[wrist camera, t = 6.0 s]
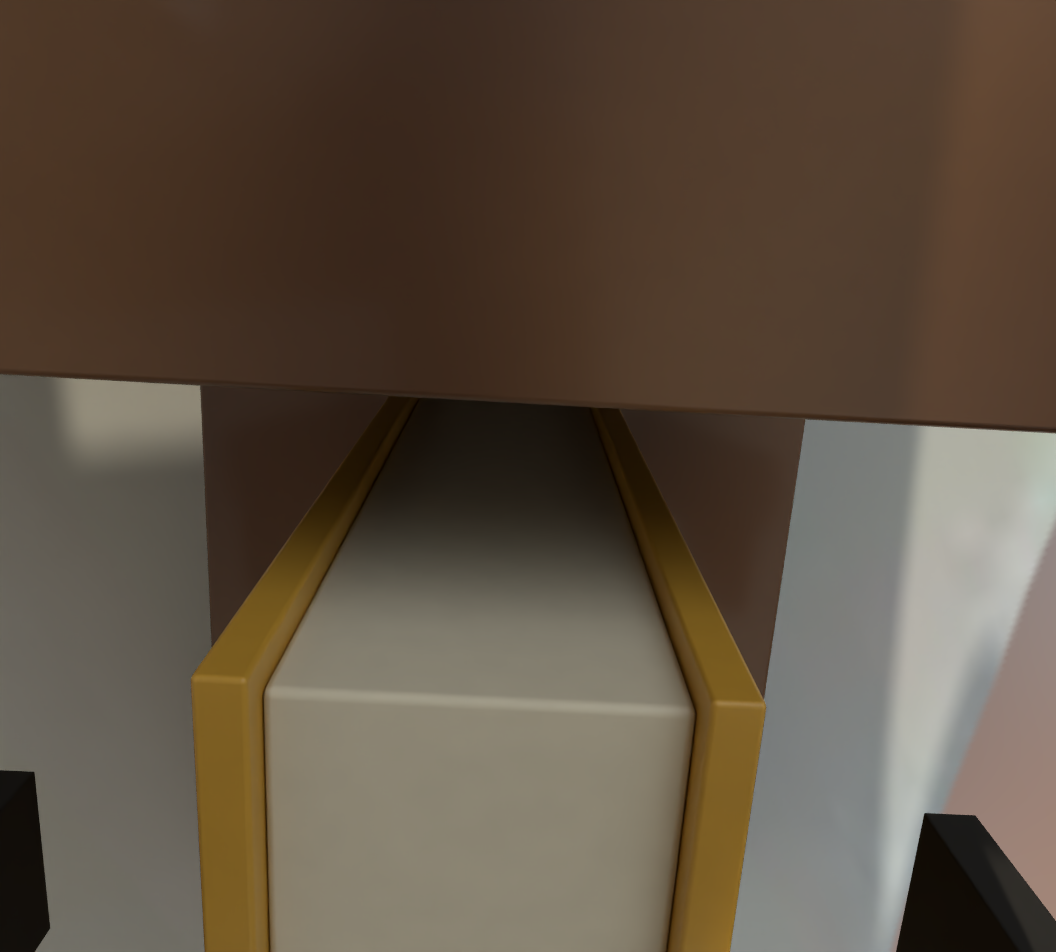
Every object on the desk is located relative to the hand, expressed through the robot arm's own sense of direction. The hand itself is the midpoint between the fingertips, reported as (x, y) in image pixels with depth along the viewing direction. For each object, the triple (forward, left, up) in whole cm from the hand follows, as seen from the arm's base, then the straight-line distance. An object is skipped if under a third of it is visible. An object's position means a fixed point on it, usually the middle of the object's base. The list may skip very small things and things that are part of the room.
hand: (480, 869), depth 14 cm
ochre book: (0, 0, -6) cm, 6 cm away
